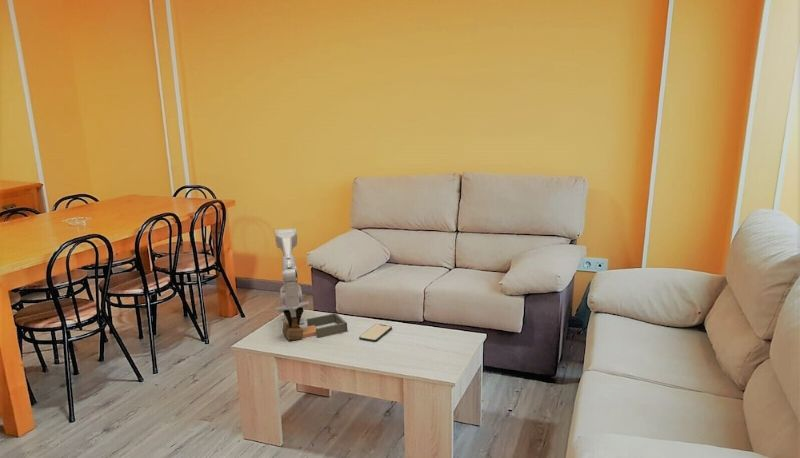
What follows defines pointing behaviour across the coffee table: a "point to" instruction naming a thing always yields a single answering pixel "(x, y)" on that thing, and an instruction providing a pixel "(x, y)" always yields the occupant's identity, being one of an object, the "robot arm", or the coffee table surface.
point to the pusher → (293, 330)
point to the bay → (328, 330)
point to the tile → (309, 331)
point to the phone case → (375, 333)
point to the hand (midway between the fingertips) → (294, 325)
